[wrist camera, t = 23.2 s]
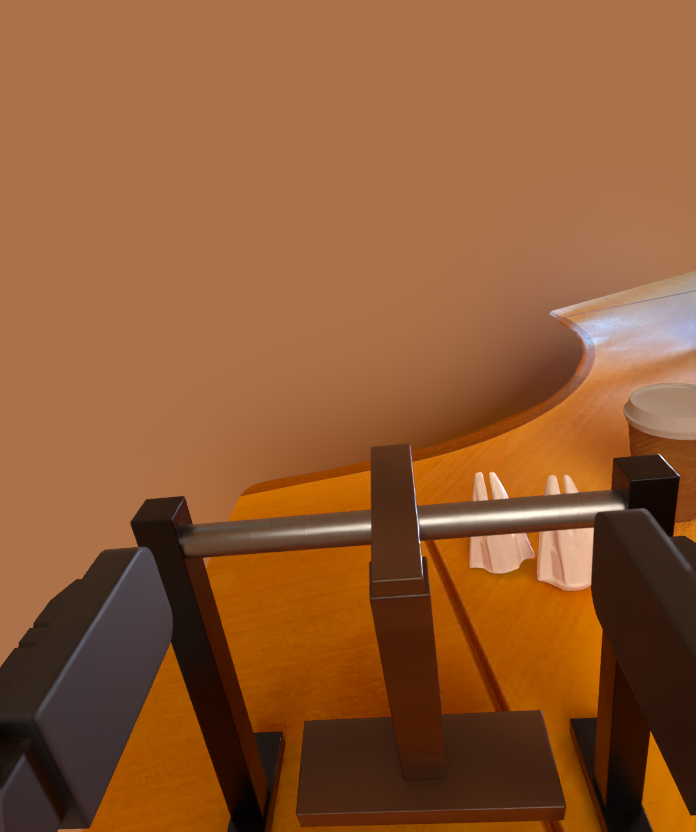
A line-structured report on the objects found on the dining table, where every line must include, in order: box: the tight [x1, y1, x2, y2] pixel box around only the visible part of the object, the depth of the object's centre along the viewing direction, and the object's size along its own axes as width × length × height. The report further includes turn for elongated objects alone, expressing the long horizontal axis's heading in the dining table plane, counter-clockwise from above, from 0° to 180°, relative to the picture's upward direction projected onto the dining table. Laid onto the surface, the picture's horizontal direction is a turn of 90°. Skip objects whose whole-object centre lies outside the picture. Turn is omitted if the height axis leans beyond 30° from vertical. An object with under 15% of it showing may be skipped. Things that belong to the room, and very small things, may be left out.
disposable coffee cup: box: [623, 383, 696, 522], centre depth 57 cm, size 10×10×12 cm
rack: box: [130, 454, 680, 832], centre depth 30 cm, size 24×10×23 cm, turn 87°
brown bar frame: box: [296, 443, 566, 827], centre depth 30 cm, size 10×14×18 cm
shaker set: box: [469, 472, 594, 591], centre depth 51 cm, size 12×4×11 cm, turn 54°
